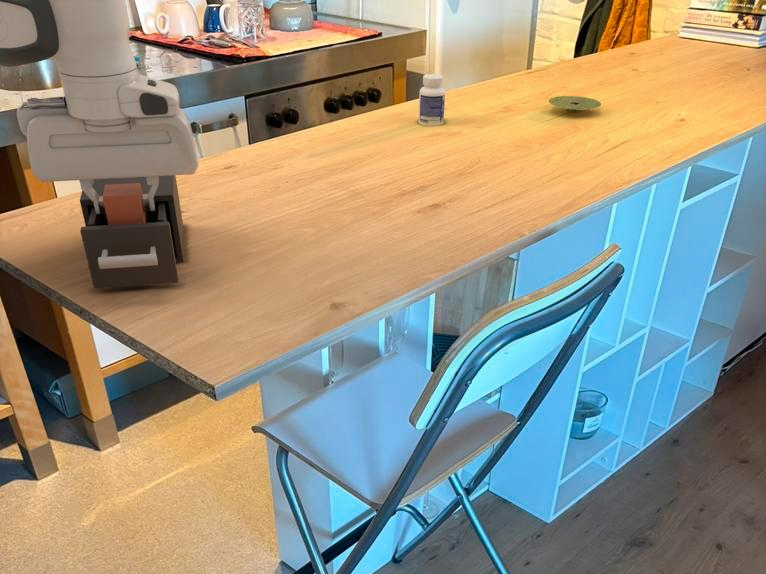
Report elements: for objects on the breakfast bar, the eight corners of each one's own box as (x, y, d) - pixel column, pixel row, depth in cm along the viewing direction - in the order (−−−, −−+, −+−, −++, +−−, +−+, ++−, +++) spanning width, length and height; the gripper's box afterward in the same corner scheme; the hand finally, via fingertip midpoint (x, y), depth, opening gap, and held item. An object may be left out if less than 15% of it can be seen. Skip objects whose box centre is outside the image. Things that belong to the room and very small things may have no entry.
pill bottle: (446, 126, 168) (449, 78, 162) (422, 127, 167) (423, 79, 161) (439, 119, 172) (441, 72, 166) (415, 120, 171) (417, 73, 165)
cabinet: (183, 263, 115) (173, 194, 109) (95, 269, 113) (79, 200, 107) (183, 227, 125) (173, 162, 119) (102, 232, 123) (88, 166, 117)
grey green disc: (551, 102, 183) (552, 93, 181) (602, 107, 180) (603, 97, 179) (543, 116, 174) (545, 106, 173) (596, 121, 172) (598, 111, 171)
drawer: (178, 296, 105) (168, 237, 100) (91, 303, 103) (76, 243, 98) (178, 245, 117) (169, 191, 112) (100, 250, 116) (88, 195, 111)
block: (109, 231, 105) (102, 196, 102) (112, 219, 108) (104, 184, 105) (145, 229, 106) (139, 194, 103) (146, 216, 109) (140, 182, 106)
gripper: (7, 105, 93) (39, 225, 102) (189, 99, 96) (204, 215, 105) (16, 91, 98) (46, 207, 107) (189, 85, 101) (203, 198, 110)
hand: (126, 211), depth 106 cm, fingers closed on block, 4 cm apart
